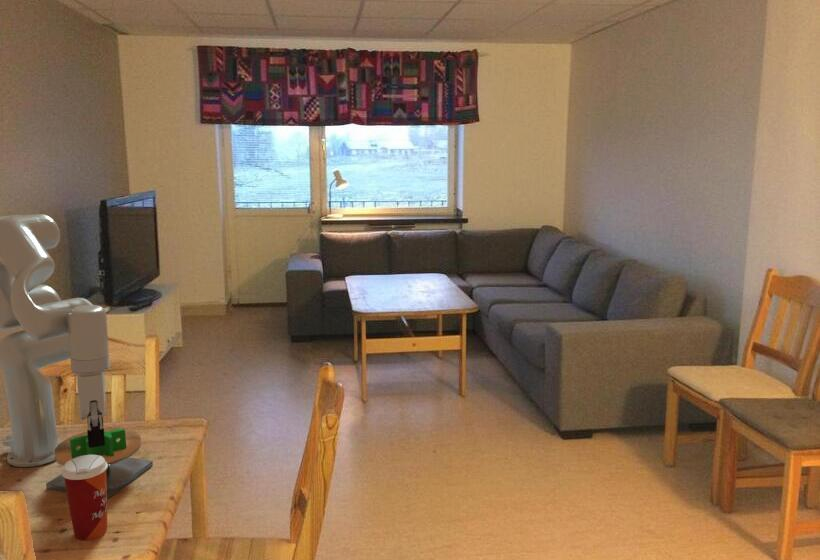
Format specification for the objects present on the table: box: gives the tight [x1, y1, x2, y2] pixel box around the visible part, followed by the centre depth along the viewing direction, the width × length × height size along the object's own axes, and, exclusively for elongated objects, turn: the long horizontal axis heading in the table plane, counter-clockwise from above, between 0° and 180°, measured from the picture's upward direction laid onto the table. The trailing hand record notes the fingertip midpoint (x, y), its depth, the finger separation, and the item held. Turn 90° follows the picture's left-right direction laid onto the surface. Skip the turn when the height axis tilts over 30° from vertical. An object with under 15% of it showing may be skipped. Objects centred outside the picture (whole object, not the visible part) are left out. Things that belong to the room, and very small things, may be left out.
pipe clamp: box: [69, 427, 126, 459], centre depth 154 cm, size 11×4×5 cm, turn 120°
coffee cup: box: [61, 455, 108, 541], centre depth 138 cm, size 8×8×15 cm
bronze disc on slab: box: [45, 427, 154, 500], centre depth 160 cm, size 18×18×10 cm
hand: (96, 436), depth 153 cm, fingers open, 9 cm apart
